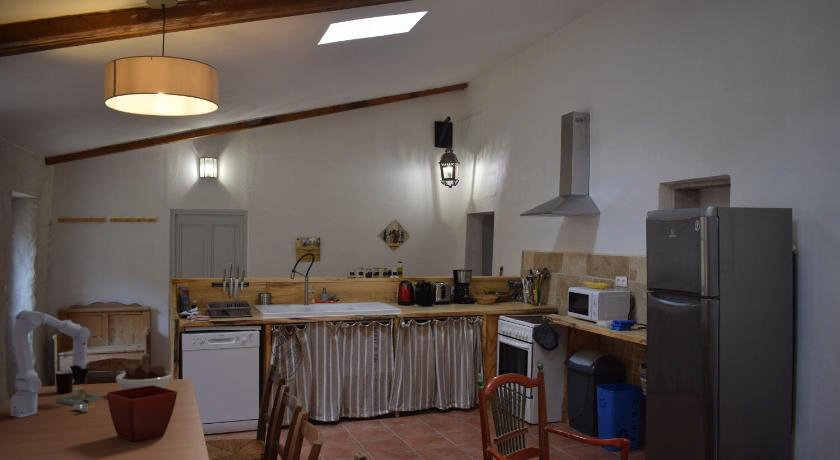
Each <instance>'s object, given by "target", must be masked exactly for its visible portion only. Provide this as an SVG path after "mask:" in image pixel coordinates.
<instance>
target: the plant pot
mask: <svg viewBox="0 0 840 460" xmlns="http://www.w3.org/2000/svg"><path fill="white" fill-rule="evenodd" d="M177 395H178V391H177V390H173V389H171V388H165V387H164V388H162V387H158V386H154V385H150V386H144V387H137V388H131V389H124V390H123V389H119V390H112V391H108V392H106V396H107V397H106V398H107V403H108V409H109V413H110V417H111V420H112V424H113V427H114V430H115V433H116V435H117V437H120V438H123V439H124V440H127V441H130V442H131V443H132V442H140V441H145V440H149V439H152V438H153V439H154V438H158V437H162V436H165V433H166V432H167V429H168V426H169V424H170V421H171V418H172V416H173V413H174V409H175V405H176V400H177Z"/></svg>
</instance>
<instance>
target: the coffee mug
mask: <svg viewBox="0 0 840 460" xmlns="http://www.w3.org/2000/svg"><path fill="white" fill-rule="evenodd" d="M54 375H55V384H56V386H55V387H56V392H57V394H59V395H66V394H71V393H73V388H74V382H75V381H74V378H73V373H72V370H71V369H70V370H69V369H68V370H58V371H55V372H54Z"/></svg>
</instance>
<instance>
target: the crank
mask: <svg viewBox="0 0 840 460" xmlns="http://www.w3.org/2000/svg"><path fill="white" fill-rule="evenodd" d="M82 402H83V404H75V405H73V407H72V408H73V410H72V411H75V412H76V411H79V412H82V413H86V412H89V408H88V407H89V406H88V405H89V403H90V402H89V400H86V399H83V400H82Z"/></svg>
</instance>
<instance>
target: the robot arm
mask: <svg viewBox="0 0 840 460" xmlns="http://www.w3.org/2000/svg"><path fill="white" fill-rule="evenodd" d="M14 321H15V323H14V325H13V328H12V333H11V334H12V340H13V344H14V345H13V346H14V351H15V357H16V363H17V371H18V373H17V374H16V375H15V381H14V388H15V390H17V394H16V395H14V396H12V397H11V400H10V413H9V416H12V417H16V418H19V419H20V418H24V417H29V416H33V415H38V413H37V412H38V394H39V391H40V390H41V388H42V382H41V380H40V379H39V375H38V373H37V372H36V371H35V369H34V365H33V359H32V353H31V351H32V350H31V345H30V338H29V334H30V333H31V332H32V331H33V330H34V329H36V328H37V327H39V326H40V325H42V324H43V325H44V324H47V325H49V326H51V327H55V328H57V329H58V331H59V332H60V333H61V334H64V335H66V336H69V337H71V338H72V363H71V365H69V368H70V370H72V373H73V378H74V381H73V382H77V383H78V384H79V385H83V384H85V382H86V378H87V375H88V372H89V371H90V368H89V367H87V365H88V364H90V361H89V360H88V359H87V357H88V354H87V353H88V340H89V338H90V336H91V331H90V329H89V328H88V327H86V326H81V324H80V323H74V322H73V320H71V319H64V320H60V319H58V318H57V317H54V316H51V315H49V314H48V313H46V312H45V313H44V312H41V311H38V310H37V311H32V310H27V309H23V310H20V312H19V313H17V315H16V316H15V317H14Z"/></svg>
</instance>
